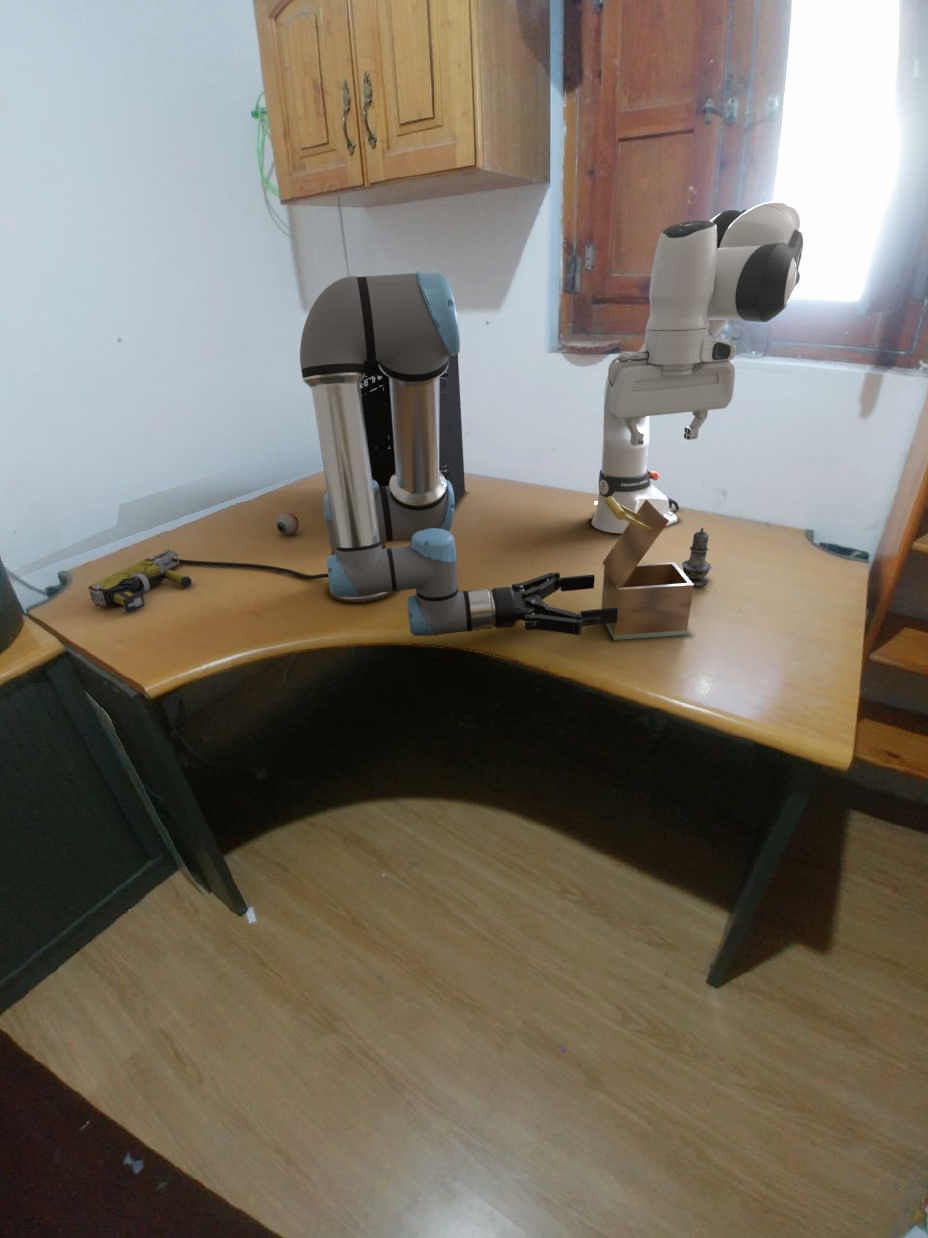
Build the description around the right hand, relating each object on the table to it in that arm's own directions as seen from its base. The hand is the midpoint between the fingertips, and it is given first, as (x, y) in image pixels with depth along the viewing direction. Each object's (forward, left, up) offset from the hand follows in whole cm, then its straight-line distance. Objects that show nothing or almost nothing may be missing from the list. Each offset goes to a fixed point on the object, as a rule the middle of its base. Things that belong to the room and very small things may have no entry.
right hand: (663, 441), depth 98 cm
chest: (0, 0, -34) cm, 34 cm away
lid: (+3, -1, -18) cm, 18 cm away
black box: (+15, -82, -34) cm, 90 cm away
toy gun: (+85, -67, -34) cm, 114 cm away
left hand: (+7, -3, -28) cm, 29 cm away
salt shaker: (-21, -9, -34) cm, 41 cm away
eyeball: (+52, -84, -34) cm, 105 cm away
